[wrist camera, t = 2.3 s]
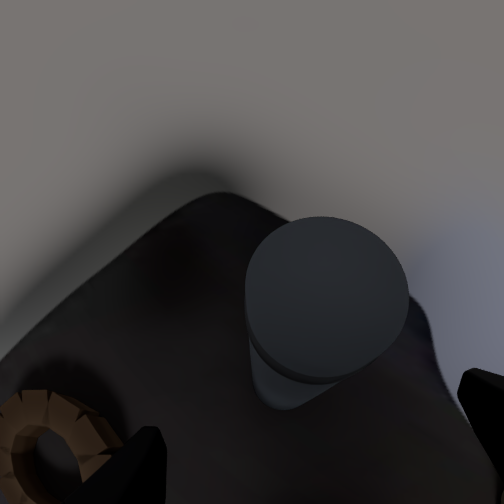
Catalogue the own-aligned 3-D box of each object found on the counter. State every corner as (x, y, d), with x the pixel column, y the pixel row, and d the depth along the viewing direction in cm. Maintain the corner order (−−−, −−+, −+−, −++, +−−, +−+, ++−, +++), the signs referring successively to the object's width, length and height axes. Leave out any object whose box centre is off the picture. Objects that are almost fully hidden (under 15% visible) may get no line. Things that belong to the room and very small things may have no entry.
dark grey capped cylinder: (322, 400, 16) (434, 337, 6) (260, 417, 16) (267, 395, 5) (305, 343, 18) (370, 204, 8) (245, 358, 18) (226, 231, 7)
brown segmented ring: (151, 540, 11) (137, 552, 9) (28, 521, 10) (7, 525, 8) (118, 392, 16) (100, 386, 14) (7, 396, 15) (-15, 389, 13)
